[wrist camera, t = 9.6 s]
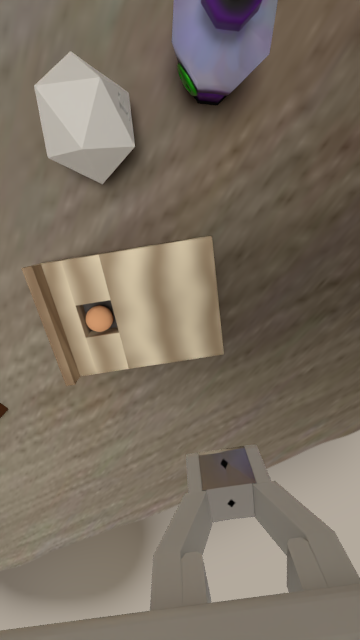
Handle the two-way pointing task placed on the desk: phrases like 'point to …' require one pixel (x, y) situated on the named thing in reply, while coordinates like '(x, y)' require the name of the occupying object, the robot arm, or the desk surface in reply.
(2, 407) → the hardcover book
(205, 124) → the desk surface
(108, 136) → the die
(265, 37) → the potion bottle
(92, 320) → the ball
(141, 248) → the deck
